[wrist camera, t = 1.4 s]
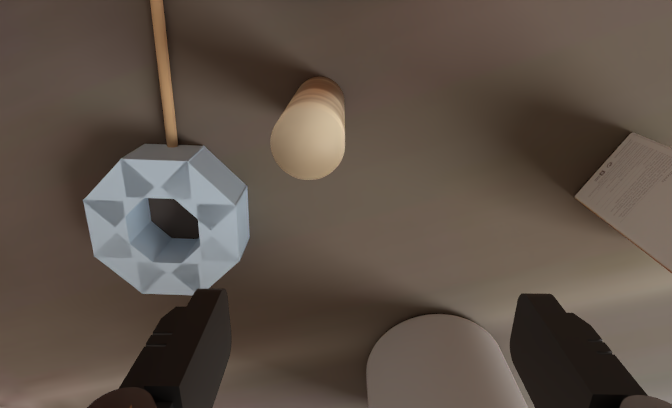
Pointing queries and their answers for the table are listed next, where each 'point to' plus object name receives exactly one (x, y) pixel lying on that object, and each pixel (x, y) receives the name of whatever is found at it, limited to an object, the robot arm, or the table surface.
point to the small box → (636, 195)
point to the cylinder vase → (440, 367)
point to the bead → (152, 242)
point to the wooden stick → (164, 71)
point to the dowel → (311, 130)
